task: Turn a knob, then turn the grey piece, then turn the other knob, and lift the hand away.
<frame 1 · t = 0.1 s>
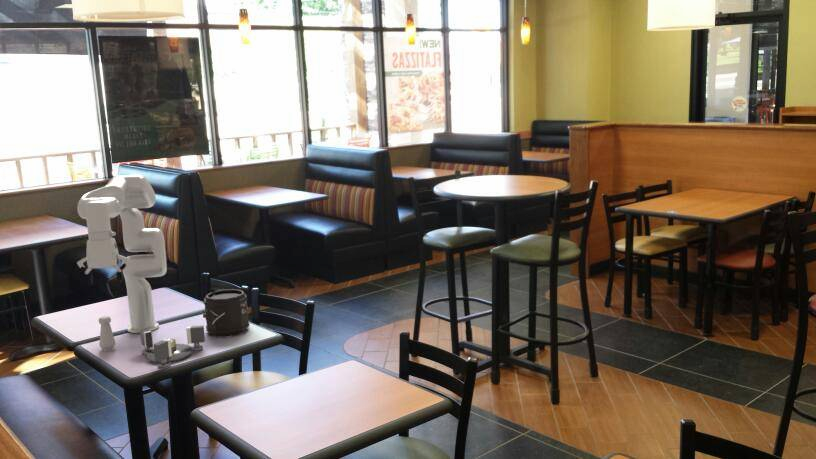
hand: (105, 283, 261), 31 cm above the table, tool pointing down, fingers open, 9 cm apart
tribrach: (170, 356, 275), on the table
wooden barrel: (227, 331, 303), on the table
knob near left: (195, 336, 281), point 5 cm above the table, hinge at -30.0°
grey piece: (146, 340, 278), point 5 cm above the table, hinge at -30.0°
knob front: (162, 352, 264), point 5 cm above the table, hinge at -30.0°
salt shaker: (108, 349, 286), on the table
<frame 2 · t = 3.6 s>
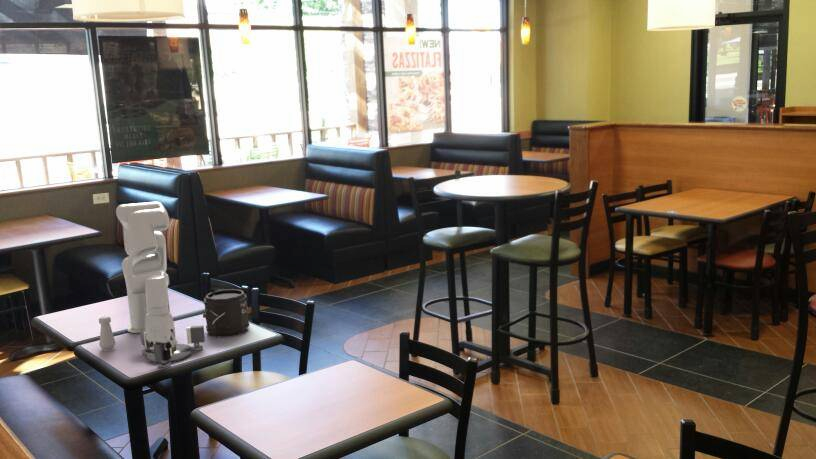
hand: (163, 358, 265), 3 cm above the table, tool pointing down, fingers closed on knob front, 2 cm apart
knob front: (162, 352, 264), point 5 cm above the table, hinge at -30.0°, touching gripper
everything else where it was.
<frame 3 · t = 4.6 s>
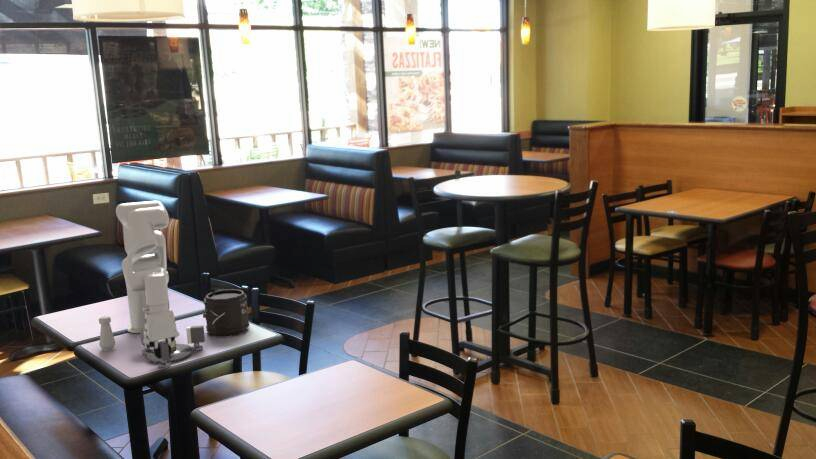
hand: (163, 356, 265), 4 cm above the table, tool pointing down, fingers closed
knob front: (162, 352, 264), point 5 cm above the table, hinge at 28.9°
everything else where it was.
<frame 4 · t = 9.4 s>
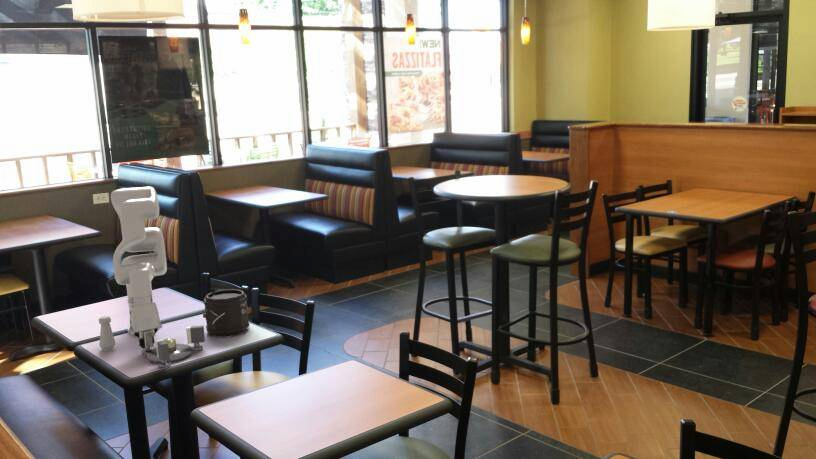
hand: (147, 346, 279), 3 cm above the table, tool pointing down, fingers closed on grey piece, 2 cm apart
grey piece: (146, 340, 278), point 5 cm above the table, hinge at -30.0°, touching gripper
everything else where it was.
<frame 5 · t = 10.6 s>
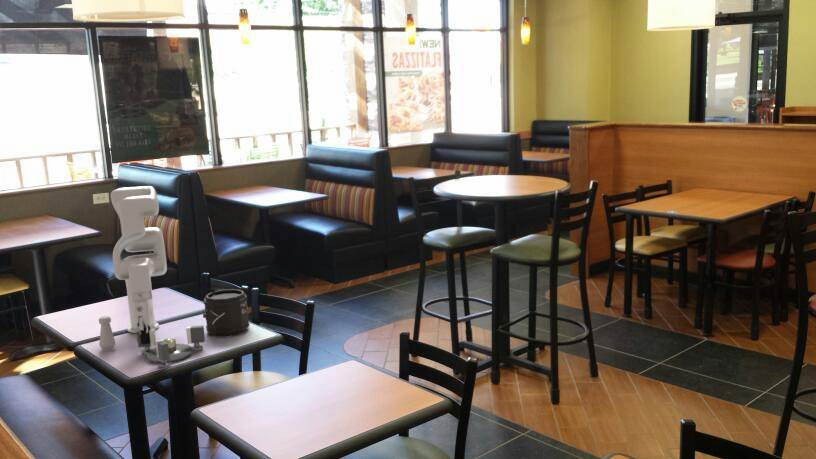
hand: (146, 341, 279), 5 cm above the table, tool pointing down, fingers closed
grey piece: (146, 340, 278), point 5 cm above the table, hinge at 29.9°
everything else where it was.
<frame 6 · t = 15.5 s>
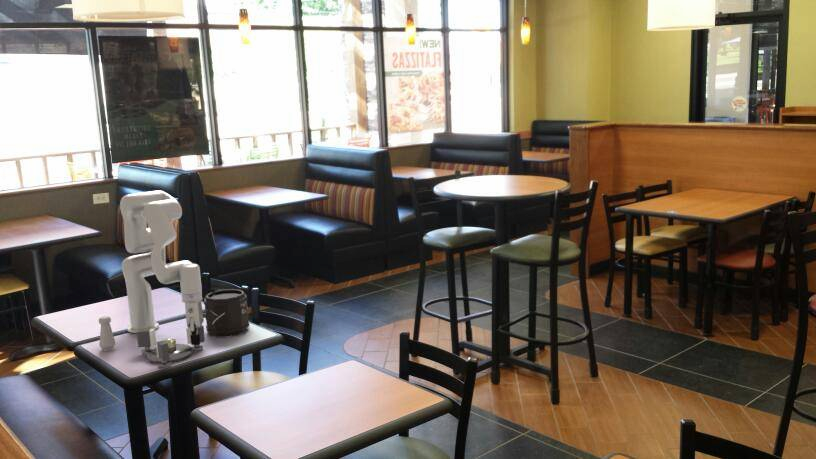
hand: (196, 342, 281), 3 cm above the table, tool pointing down, fingers closed on knob near left, 2 cm apart
knob near left: (195, 336, 281), point 5 cm above the table, hinge at -30.0°, touching gripper
everything else where it was.
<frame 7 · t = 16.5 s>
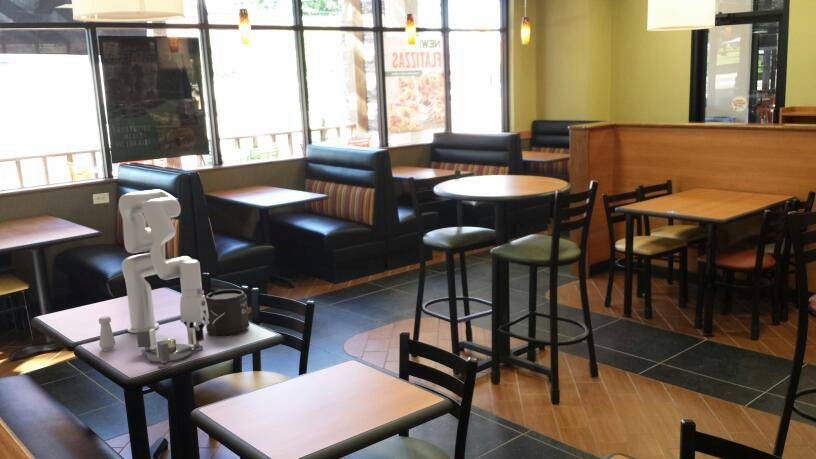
hand: (196, 338, 281), 4 cm above the table, tool pointing down, fingers closed on knob near left, 2 cm apart
knob near left: (195, 336, 281), point 5 cm above the table, hinge at 30.1°, touching gripper
everything else where it was.
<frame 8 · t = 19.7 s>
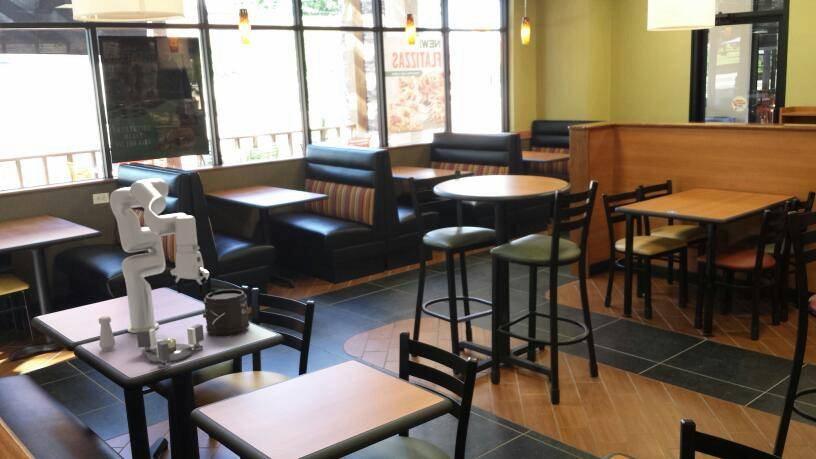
hand: (191, 293, 277), 22 cm above the table, tool pointing down, fingers open, 9 cm apart
knob near left: (195, 336, 281), point 5 cm above the table, hinge at 29.9°
everything else where it was.
at the end: knob front at +29° (first picture: -30°); grey piece at +30° (first picture: -30°); knob near left at +30° (first picture: -30°) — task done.
